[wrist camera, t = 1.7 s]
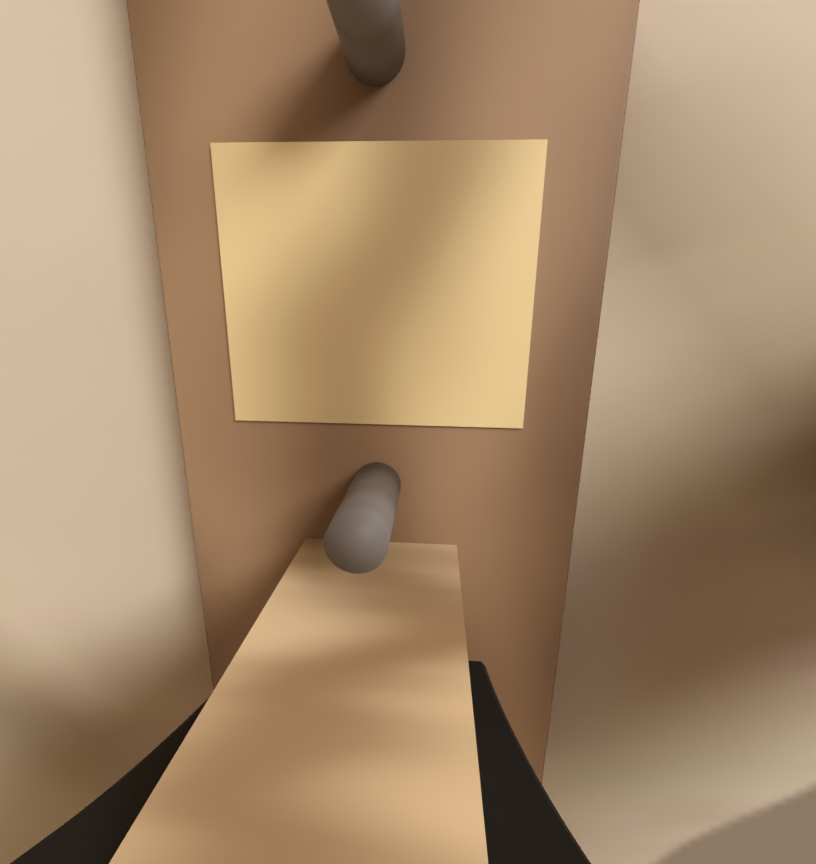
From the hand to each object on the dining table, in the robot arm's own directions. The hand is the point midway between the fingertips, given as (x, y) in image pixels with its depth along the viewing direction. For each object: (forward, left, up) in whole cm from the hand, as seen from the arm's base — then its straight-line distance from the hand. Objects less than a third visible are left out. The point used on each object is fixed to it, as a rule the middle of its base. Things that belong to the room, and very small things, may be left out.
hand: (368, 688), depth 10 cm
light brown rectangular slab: (0, 0, -2) cm, 2 cm away
